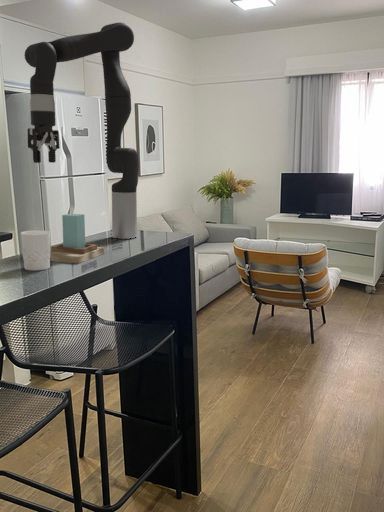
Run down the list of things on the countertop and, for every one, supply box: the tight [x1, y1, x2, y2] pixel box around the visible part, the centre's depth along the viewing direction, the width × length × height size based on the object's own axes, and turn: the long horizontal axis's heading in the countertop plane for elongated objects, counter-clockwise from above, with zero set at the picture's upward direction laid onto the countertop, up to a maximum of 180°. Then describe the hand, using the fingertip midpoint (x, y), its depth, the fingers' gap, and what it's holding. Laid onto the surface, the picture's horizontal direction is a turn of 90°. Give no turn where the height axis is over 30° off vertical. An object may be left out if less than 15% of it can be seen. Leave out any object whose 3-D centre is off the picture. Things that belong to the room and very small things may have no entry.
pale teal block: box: [61, 213, 86, 249], centre depth 155 cm, size 4×5×11 cm
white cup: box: [20, 229, 52, 271], centre depth 140 cm, size 8×8×10 cm
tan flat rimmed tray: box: [50, 242, 105, 265], centre depth 156 cm, size 16×12×4 cm
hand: (44, 162), depth 164 cm, fingers open, 8 cm apart
